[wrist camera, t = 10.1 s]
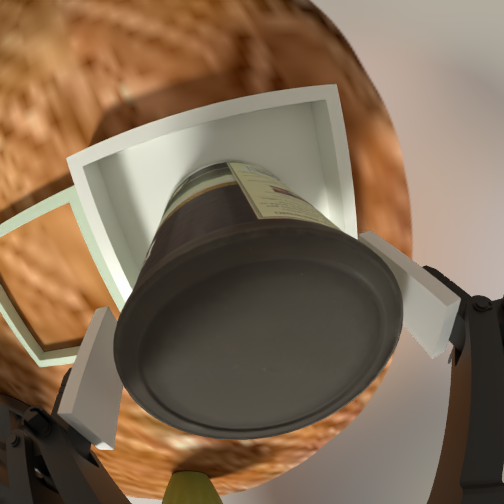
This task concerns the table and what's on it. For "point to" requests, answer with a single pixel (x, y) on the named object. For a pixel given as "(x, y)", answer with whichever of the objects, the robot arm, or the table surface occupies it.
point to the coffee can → (253, 310)
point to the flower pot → (190, 489)
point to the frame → (70, 194)
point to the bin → (208, 151)
